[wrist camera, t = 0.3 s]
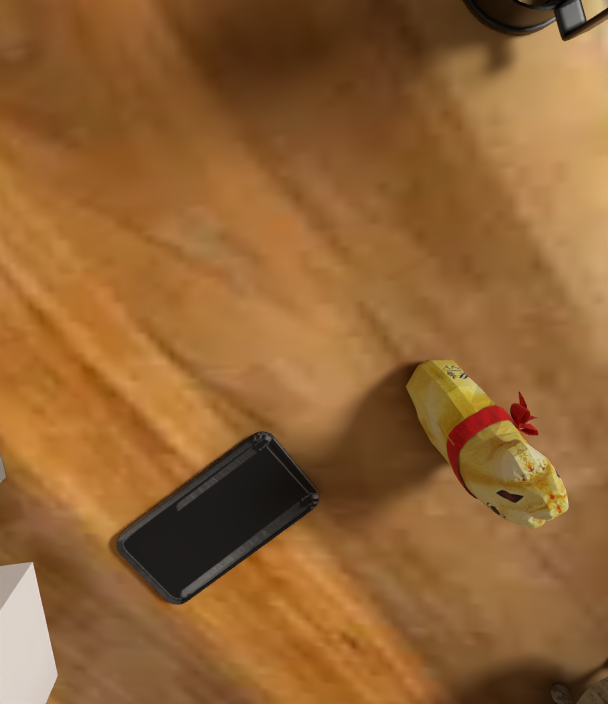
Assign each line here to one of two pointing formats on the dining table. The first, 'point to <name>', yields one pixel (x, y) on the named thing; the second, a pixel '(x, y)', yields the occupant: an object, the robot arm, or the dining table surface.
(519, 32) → the french press
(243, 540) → the phone
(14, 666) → the robot arm
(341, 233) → the dining table surface
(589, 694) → the tabletop clock
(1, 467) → the hole block
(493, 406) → the chocolate bunny
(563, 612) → the dining table surface
